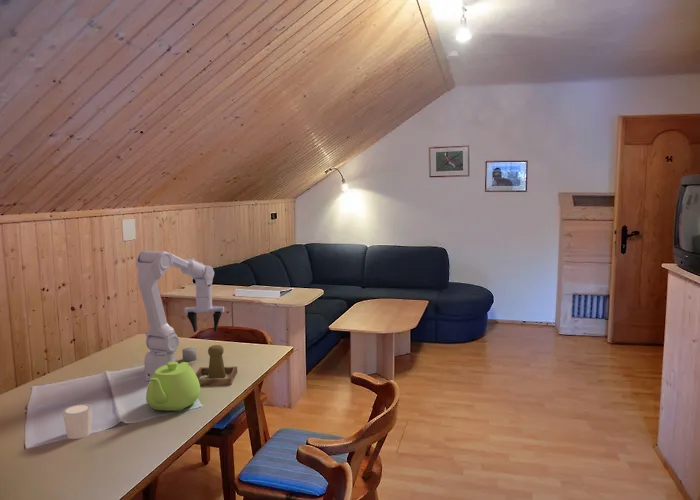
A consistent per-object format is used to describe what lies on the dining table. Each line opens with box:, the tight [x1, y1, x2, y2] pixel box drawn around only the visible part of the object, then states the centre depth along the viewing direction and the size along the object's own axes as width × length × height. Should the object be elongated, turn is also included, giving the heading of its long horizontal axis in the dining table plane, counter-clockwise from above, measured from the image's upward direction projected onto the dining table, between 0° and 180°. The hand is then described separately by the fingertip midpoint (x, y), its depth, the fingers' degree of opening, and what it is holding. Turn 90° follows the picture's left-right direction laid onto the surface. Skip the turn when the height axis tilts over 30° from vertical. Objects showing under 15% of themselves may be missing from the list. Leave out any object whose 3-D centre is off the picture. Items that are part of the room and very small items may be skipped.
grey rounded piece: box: [181, 347, 198, 363], centre depth 197 cm, size 5×5×4 cm
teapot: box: [145, 360, 201, 412], centre depth 154 cm, size 22×15×13 cm
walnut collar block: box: [195, 366, 238, 387], centre depth 177 cm, size 13×12×2 cm
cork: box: [207, 344, 227, 379], centre depth 178 cm, size 6×6×11 cm
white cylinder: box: [62, 403, 93, 440], centre depth 137 cm, size 7×7×7 cm
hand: (205, 331), depth 198 cm, fingers open, 7 cm apart
